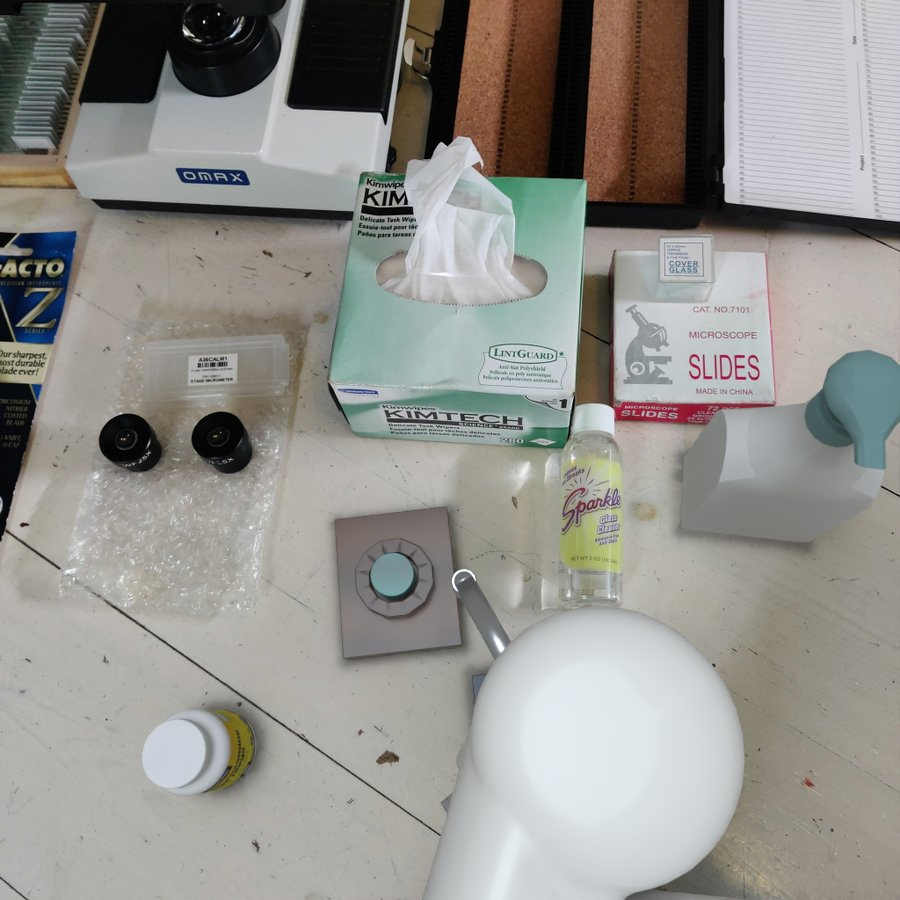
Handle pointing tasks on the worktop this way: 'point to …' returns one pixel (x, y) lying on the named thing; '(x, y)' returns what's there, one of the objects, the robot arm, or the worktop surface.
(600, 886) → the robot arm
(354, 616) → the button block
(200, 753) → the pill bottle
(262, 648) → the worktop surface
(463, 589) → the spout
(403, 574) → the button
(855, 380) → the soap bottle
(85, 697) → the worktop surface
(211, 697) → the worktop surface
